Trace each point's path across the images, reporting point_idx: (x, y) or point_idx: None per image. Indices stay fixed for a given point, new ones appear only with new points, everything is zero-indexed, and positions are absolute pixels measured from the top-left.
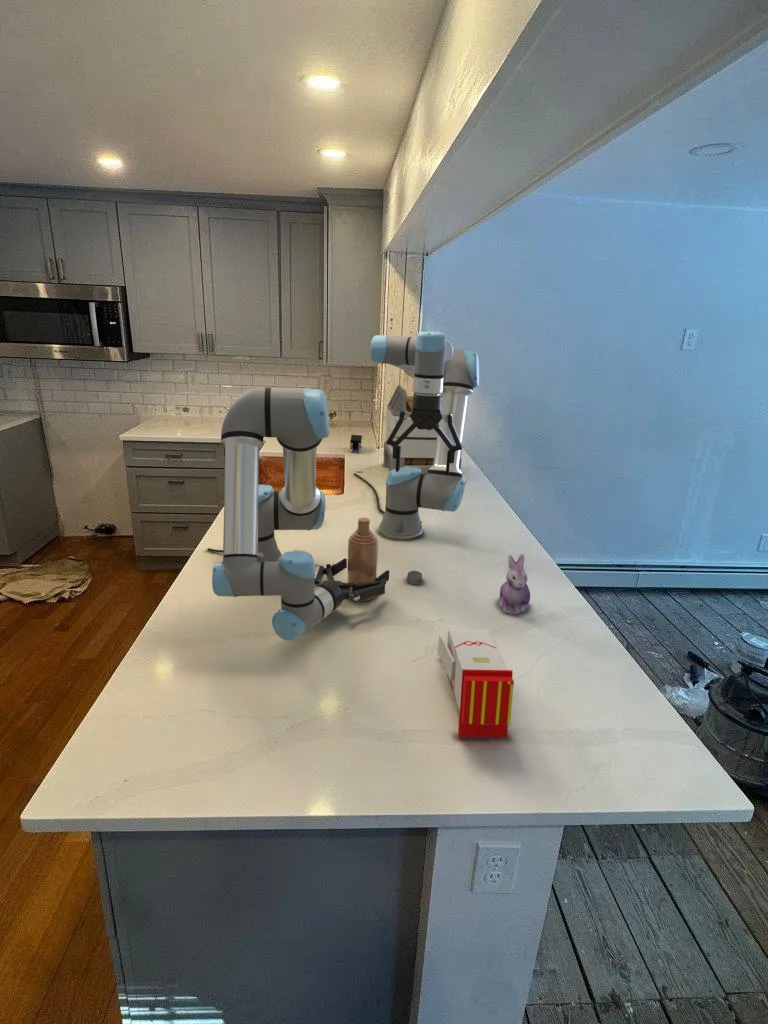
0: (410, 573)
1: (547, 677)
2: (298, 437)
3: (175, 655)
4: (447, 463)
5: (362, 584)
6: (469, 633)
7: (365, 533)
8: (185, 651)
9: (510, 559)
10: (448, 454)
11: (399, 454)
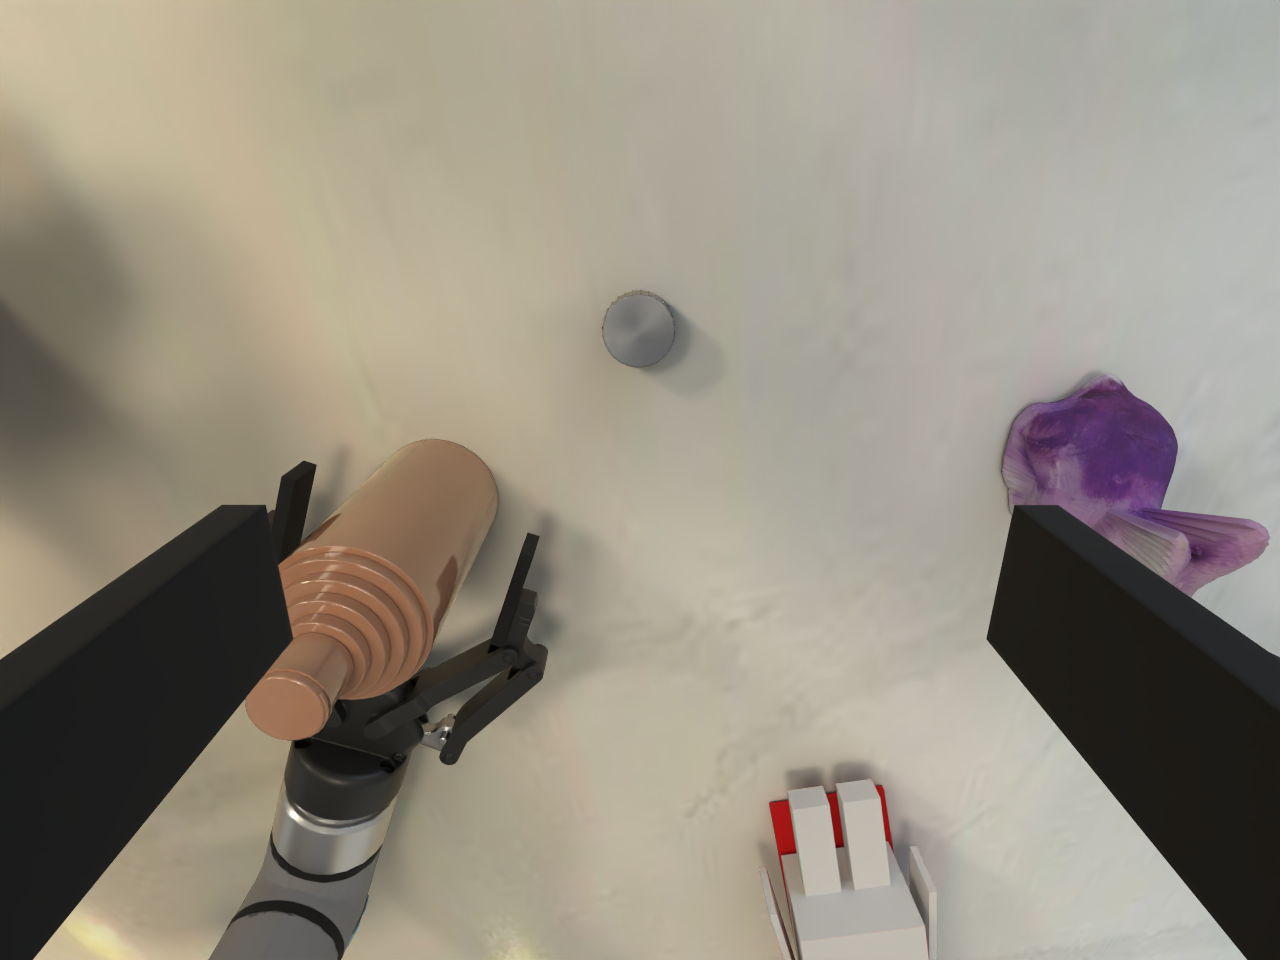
0: (615, 331)
1: (1049, 811)
2: None
3: (84, 900)
4: (1116, 778)
5: (451, 691)
6: (864, 958)
7: (346, 694)
8: (94, 884)
9: (1167, 580)
10: (1271, 957)
11: (104, 826)
